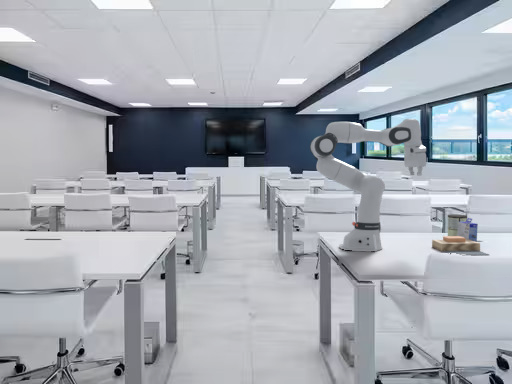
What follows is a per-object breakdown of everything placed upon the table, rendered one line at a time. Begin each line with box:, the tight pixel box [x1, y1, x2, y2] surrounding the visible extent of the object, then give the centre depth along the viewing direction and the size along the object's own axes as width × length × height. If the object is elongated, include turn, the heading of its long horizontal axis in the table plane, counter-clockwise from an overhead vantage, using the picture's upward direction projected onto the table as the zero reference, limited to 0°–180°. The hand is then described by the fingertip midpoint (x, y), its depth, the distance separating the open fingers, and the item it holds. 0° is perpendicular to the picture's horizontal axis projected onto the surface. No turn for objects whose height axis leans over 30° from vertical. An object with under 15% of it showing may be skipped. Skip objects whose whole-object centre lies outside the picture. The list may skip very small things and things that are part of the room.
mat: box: [443, 250, 490, 256], centre depth 210 cm, size 18×10×1 cm, turn 92°
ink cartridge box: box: [457, 217, 479, 242], centre depth 233 cm, size 10×6×14 cm, turn 11°
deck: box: [431, 239, 481, 252], centre depth 221 cm, size 20×11×4 cm, turn 92°
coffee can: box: [447, 213, 468, 236], centre depth 250 cm, size 10×10×14 cm
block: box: [442, 235, 466, 242], centre depth 222 cm, size 9×6×2 cm, turn 92°
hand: (415, 175), depth 222 cm, fingers open, 8 cm apart
